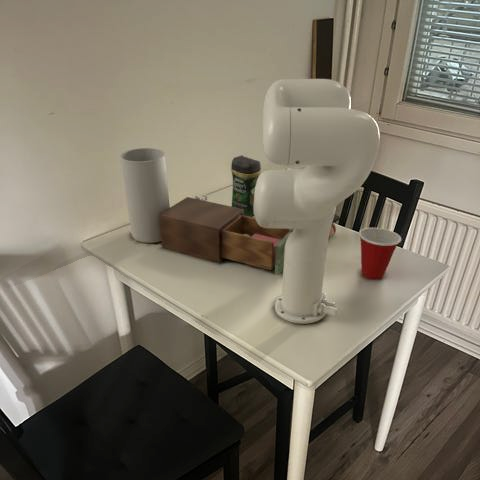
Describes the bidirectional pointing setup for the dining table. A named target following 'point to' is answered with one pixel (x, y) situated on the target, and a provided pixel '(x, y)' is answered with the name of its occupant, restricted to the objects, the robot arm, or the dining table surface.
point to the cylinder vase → (145, 191)
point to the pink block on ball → (268, 240)
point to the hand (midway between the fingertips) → (296, 243)
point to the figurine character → (333, 227)
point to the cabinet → (196, 227)
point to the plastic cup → (377, 251)
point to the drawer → (253, 244)
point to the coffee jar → (244, 183)
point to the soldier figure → (201, 198)
